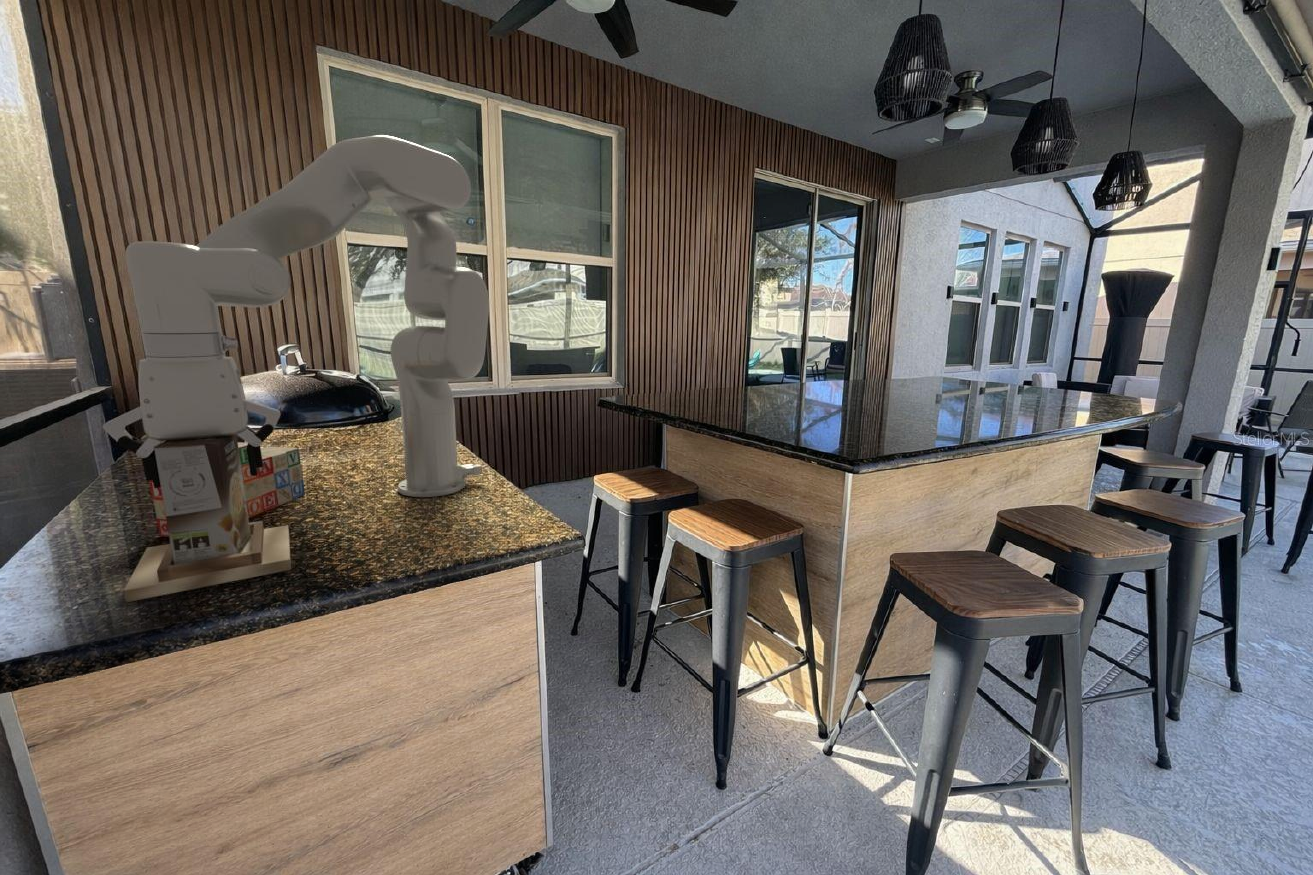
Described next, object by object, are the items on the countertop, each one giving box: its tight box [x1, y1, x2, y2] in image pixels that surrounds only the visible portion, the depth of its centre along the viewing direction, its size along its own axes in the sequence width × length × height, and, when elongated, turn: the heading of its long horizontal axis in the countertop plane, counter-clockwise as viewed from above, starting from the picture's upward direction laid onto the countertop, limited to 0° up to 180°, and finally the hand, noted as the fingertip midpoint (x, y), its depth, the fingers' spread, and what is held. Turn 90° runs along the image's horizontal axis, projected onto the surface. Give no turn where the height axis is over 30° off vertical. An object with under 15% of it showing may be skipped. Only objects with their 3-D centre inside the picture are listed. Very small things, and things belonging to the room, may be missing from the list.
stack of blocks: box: [148, 442, 306, 538], centre depth 89 cm, size 21×6×12 cm, turn 172°
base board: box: [123, 520, 292, 603], centre depth 72 cm, size 16×14×3 cm
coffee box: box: [153, 434, 251, 565], centre depth 70 cm, size 9×6×16 cm
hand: (209, 478), depth 70 cm, fingers open, 9 cm apart
